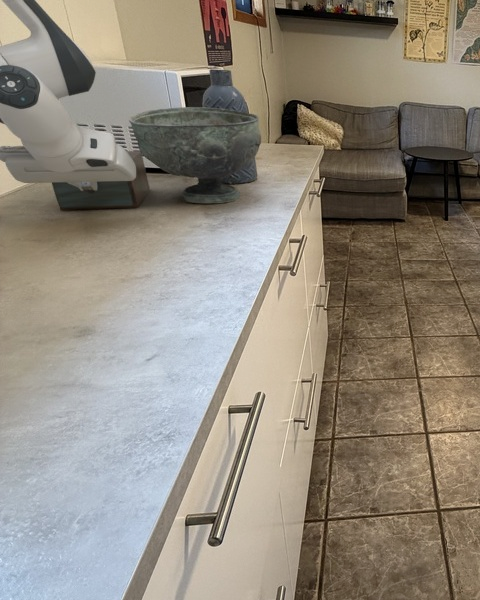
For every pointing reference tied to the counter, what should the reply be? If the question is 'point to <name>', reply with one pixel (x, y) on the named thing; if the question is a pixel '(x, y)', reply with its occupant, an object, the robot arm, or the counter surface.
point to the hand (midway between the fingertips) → (89, 187)
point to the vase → (230, 99)
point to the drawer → (94, 194)
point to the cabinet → (137, 186)
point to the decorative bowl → (199, 146)
